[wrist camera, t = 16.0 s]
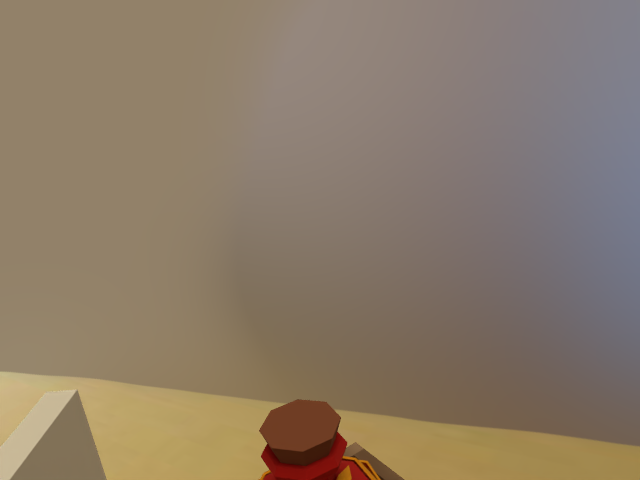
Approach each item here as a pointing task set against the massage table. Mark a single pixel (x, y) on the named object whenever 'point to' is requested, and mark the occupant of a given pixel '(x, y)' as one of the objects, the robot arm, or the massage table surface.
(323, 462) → the potion bottle
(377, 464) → the dolly
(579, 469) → the massage table surface
